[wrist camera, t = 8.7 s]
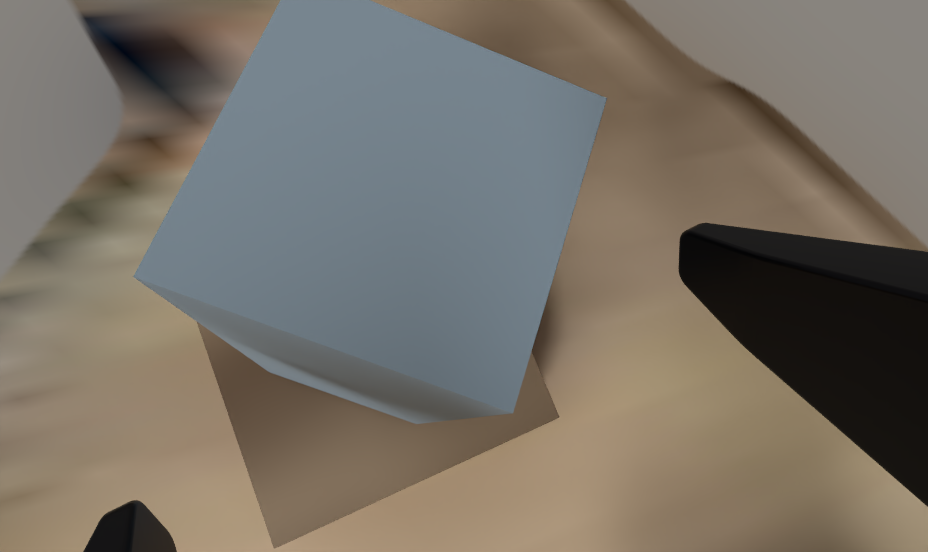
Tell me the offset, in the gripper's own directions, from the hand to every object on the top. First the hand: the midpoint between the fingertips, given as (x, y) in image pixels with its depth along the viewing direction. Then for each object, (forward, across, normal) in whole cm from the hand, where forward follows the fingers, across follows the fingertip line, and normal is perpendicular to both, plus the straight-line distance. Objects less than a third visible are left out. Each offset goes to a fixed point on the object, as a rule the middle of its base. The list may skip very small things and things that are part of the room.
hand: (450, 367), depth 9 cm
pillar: (+8, 0, +5) cm, 9 cm away
